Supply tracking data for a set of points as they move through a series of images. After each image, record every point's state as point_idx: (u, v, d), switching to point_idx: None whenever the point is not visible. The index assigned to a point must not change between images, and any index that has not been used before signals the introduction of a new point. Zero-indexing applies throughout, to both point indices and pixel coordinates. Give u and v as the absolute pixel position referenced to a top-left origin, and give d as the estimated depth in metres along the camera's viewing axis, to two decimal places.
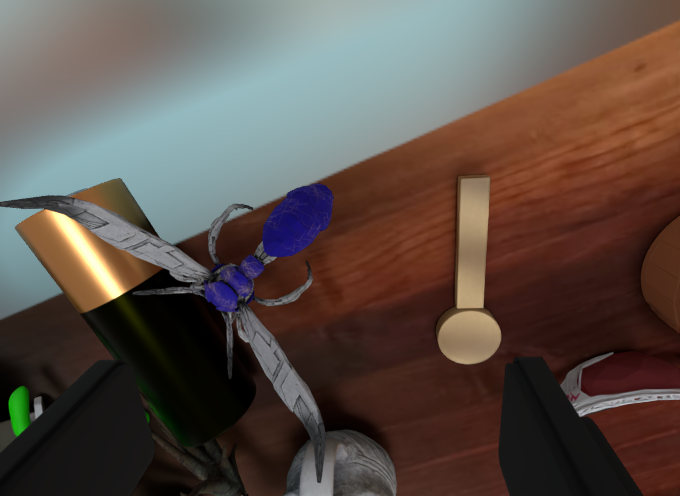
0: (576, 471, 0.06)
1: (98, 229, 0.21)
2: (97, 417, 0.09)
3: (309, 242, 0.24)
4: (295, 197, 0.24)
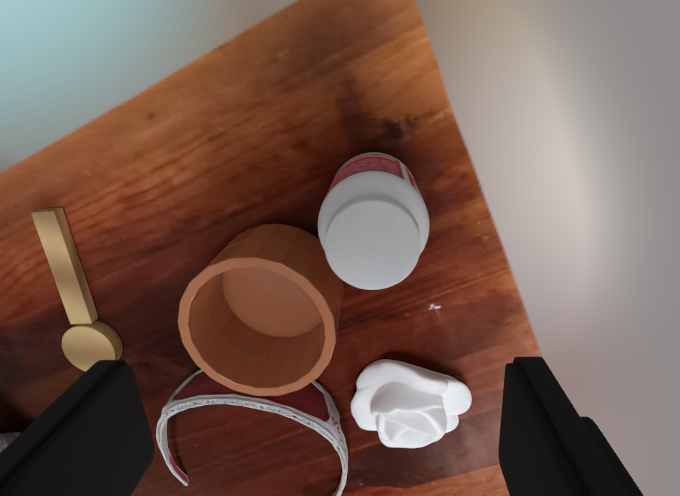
0: (576, 471, 0.06)
1: None
2: (97, 417, 0.09)
3: None
4: None
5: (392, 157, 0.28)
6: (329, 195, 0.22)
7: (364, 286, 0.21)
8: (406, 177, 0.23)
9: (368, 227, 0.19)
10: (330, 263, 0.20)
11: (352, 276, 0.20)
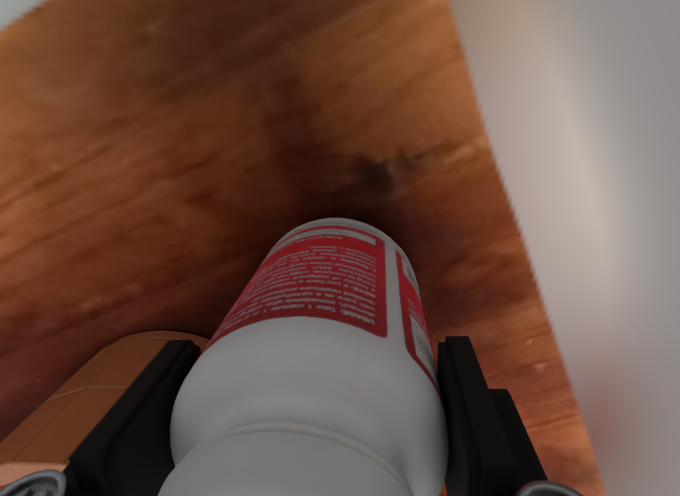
0: (472, 428, 0.07)
1: None
2: (176, 390, 0.10)
3: None
4: None
5: (371, 231, 0.14)
6: (190, 377, 0.08)
7: None
8: (394, 311, 0.10)
9: None
10: None
11: None
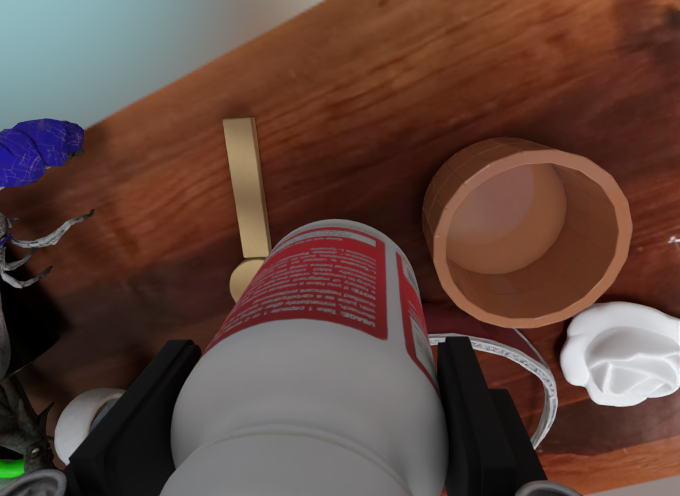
0: (471, 428, 0.07)
1: None
2: (176, 390, 0.10)
3: (29, 174, 0.24)
4: (15, 128, 0.24)
5: (371, 233, 0.14)
6: (190, 380, 0.08)
7: None
8: (394, 313, 0.10)
9: None
10: None
11: None
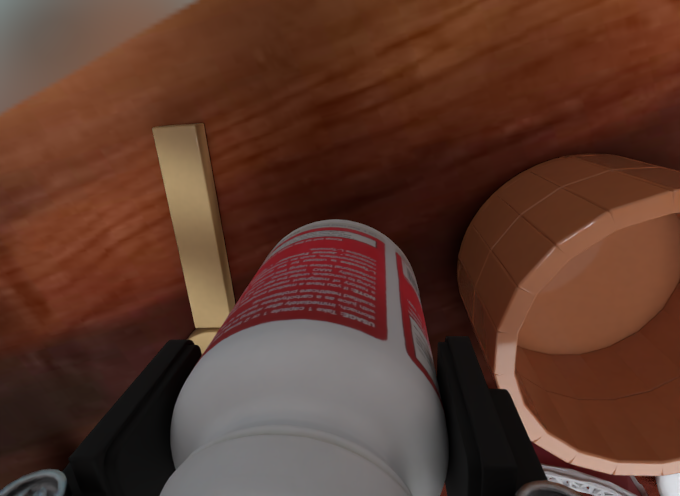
0: (471, 428, 0.07)
1: None
2: (176, 390, 0.10)
3: None
4: None
5: (371, 233, 0.14)
6: (190, 380, 0.08)
7: None
8: (394, 314, 0.10)
9: None
10: None
11: None
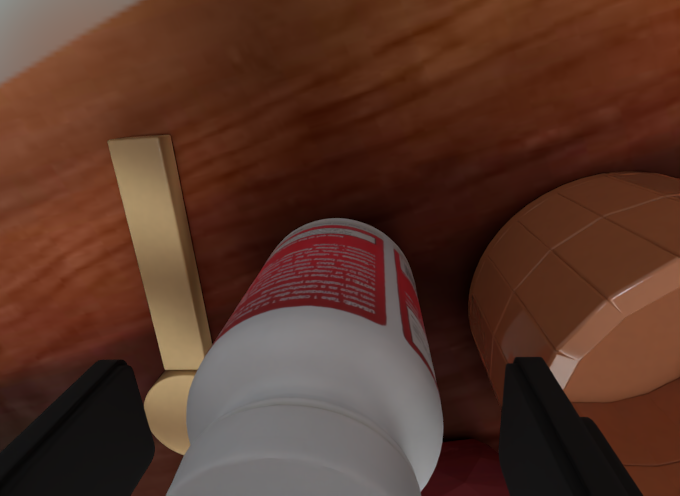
0: (576, 471, 0.06)
1: None
2: (97, 417, 0.09)
3: None
4: None
5: (370, 231, 0.15)
6: (205, 362, 0.09)
7: None
8: (392, 303, 0.11)
9: None
10: None
11: None
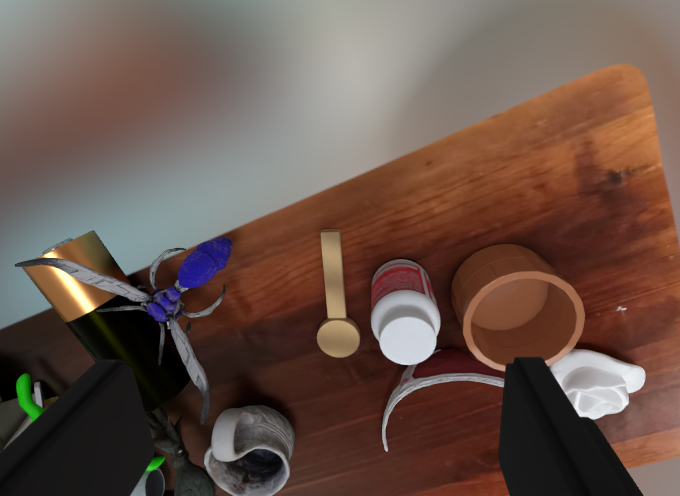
0: (576, 471, 0.06)
1: (73, 273, 0.35)
2: (97, 417, 0.09)
3: (209, 278, 0.38)
4: (200, 249, 0.38)
5: (414, 264, 0.42)
6: (379, 304, 0.36)
7: (401, 362, 0.35)
8: (426, 289, 0.37)
9: (406, 331, 0.34)
10: (382, 349, 0.34)
11: (395, 357, 0.34)
